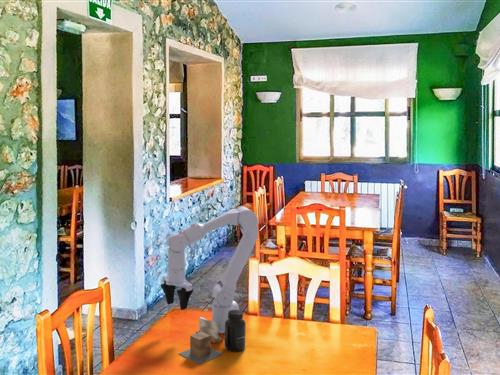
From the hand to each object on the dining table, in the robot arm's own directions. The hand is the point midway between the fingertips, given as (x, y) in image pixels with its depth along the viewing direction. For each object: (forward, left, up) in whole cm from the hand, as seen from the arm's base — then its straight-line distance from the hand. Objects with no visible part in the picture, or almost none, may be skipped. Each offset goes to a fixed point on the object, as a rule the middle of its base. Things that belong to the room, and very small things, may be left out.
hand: (176, 306), depth 177 cm
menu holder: (-5, +11, -9) cm, 15 cm away
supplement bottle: (-6, +23, -10) cm, 26 cm away
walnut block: (+5, +19, -9) cm, 22 cm away
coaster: (+5, +19, -9) cm, 22 cm away
